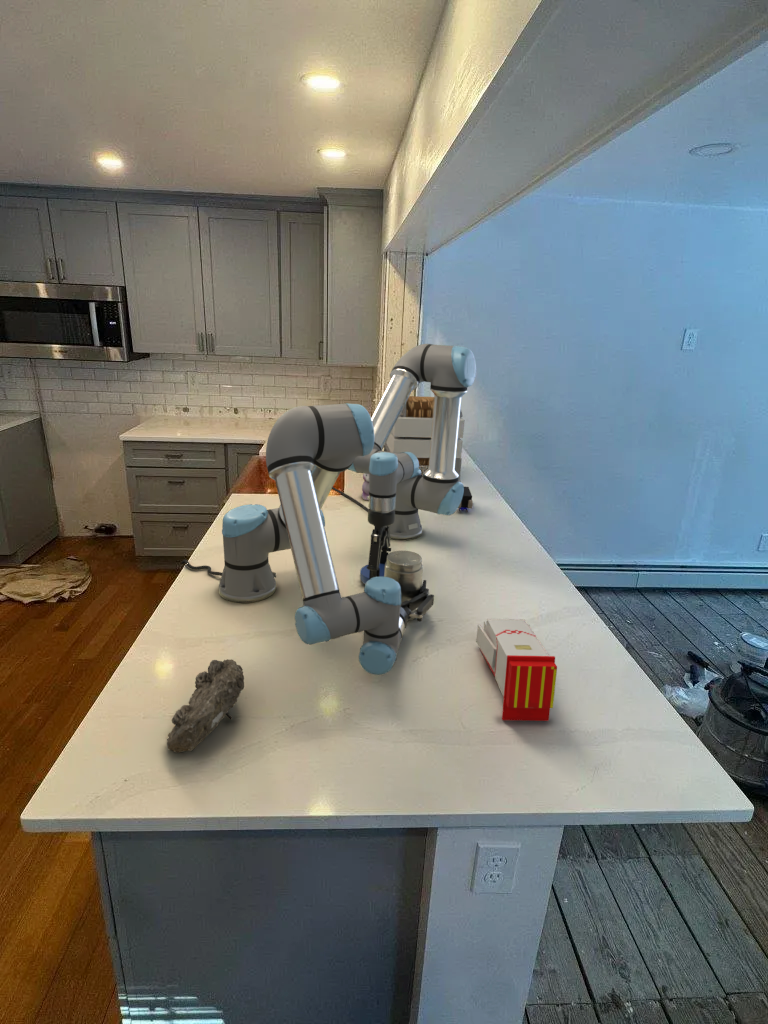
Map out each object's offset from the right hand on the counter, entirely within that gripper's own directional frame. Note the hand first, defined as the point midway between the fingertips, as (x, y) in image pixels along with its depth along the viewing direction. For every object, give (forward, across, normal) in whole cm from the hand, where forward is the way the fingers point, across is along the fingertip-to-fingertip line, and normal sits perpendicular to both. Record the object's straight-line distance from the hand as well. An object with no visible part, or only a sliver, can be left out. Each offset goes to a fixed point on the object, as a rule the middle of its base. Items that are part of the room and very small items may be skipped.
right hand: (378, 580), depth 164 cm
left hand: (-6, +10, +9) cm, 15 cm away
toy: (0, +37, +38) cm, 52 cm away
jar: (0, +15, +10) cm, 18 cm away
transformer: (0, -119, -7) cm, 119 cm away
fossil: (0, +64, -18) cm, 67 cm away
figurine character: (0, -73, +18) cm, 75 cm away
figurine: (0, -74, -20) cm, 77 cm away
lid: (-3, 0, 0) cm, 3 cm away
